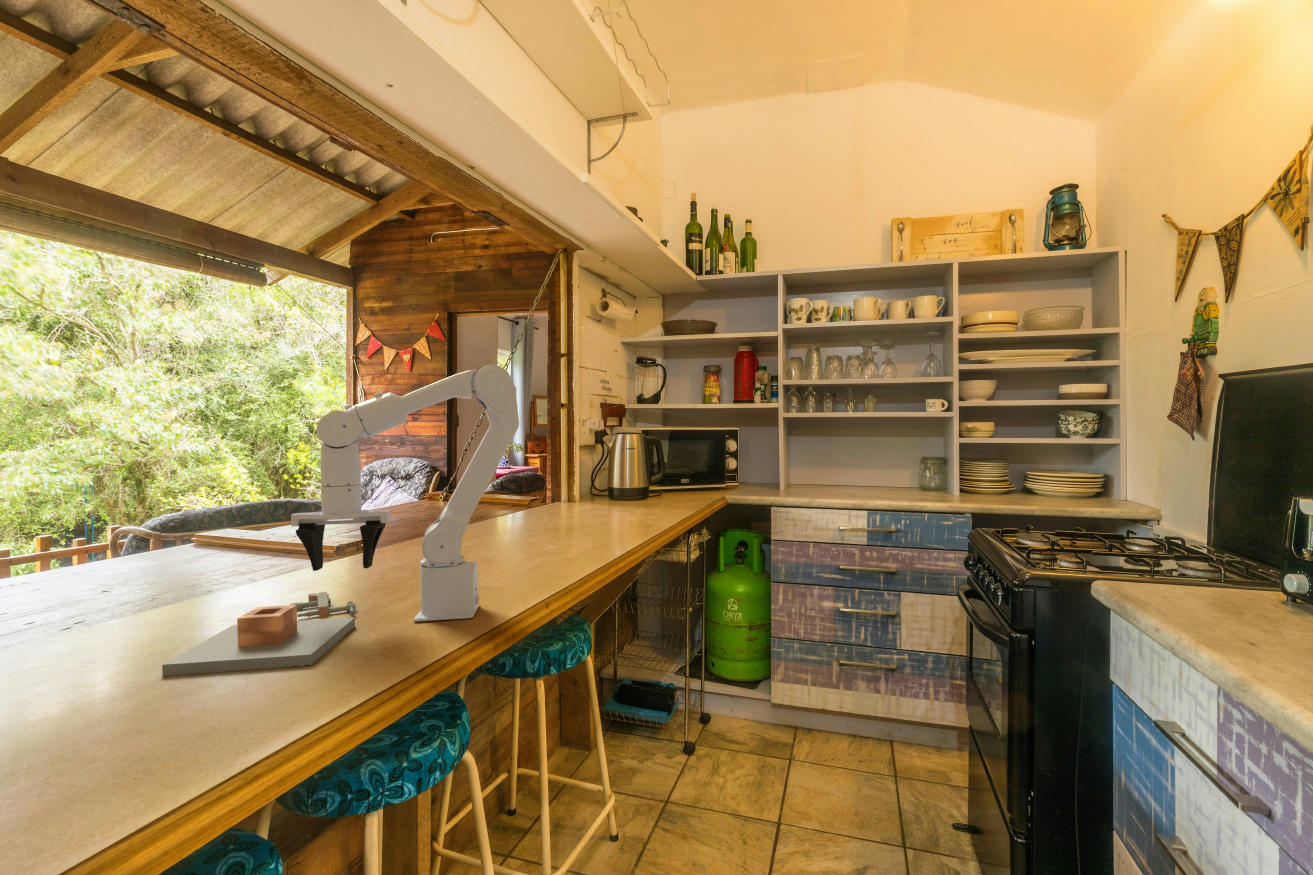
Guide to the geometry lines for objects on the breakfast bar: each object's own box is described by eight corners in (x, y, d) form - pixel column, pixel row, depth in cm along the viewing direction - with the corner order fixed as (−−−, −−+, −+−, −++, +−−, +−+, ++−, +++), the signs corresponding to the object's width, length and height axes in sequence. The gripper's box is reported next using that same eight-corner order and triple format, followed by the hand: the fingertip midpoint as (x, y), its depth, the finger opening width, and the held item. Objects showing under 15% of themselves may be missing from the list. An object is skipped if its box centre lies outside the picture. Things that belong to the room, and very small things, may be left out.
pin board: (354, 626, 93) (354, 598, 93) (311, 665, 78) (310, 632, 78) (233, 634, 91) (232, 605, 91) (162, 676, 75) (161, 641, 75)
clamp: (290, 595, 106) (351, 587, 112) (290, 607, 106) (351, 598, 112) (287, 617, 93) (356, 606, 99) (288, 630, 93) (357, 619, 99)
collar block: (297, 631, 87) (296, 604, 87) (279, 643, 82) (278, 615, 82) (258, 633, 86) (257, 607, 86) (237, 646, 81) (237, 618, 81)
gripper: (281, 488, 89) (282, 576, 89) (380, 486, 91) (382, 571, 91) (301, 485, 96) (303, 566, 96) (393, 482, 98) (395, 561, 98)
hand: (342, 568), depth 94 cm, fingers open, 7 cm apart
